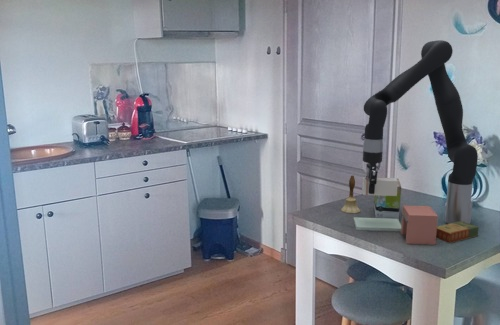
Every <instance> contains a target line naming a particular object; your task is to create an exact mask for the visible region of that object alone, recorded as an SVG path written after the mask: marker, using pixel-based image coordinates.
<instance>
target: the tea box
mask: <svg viewBox="0 0 500 325" xmlns="http://www.w3.org/2000/svg"><path fill="white" fill-rule="evenodd" d="M377 178H382V177H378V176H377ZM395 178H396V177H395ZM396 179H397V181H398V187H397V196H379V195H374V201H373V202H374V205H373V207H374V208H373V209H374V218H388V219H398V220H399V218H400V207H401V195H402V185H401V182H400V180H399V178H396Z"/></svg>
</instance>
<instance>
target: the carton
mask: <svg viewBox="0 0 500 325" xmlns="http://www.w3.org/2000/svg"><path fill="white" fill-rule="evenodd" d="M478 236H479V226H477V225H474V224H471V223H470V224H468V223H465V222H462V221H459V222H455V223H450V224H448V223H446V224H443V225H437V231H436V239H438V240H440V241H444V242H446V243H448V244H451V243H452V244H453V243H455V242H459V241H462V240H467V239H472V238H475V237H478Z"/></svg>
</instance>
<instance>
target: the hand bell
mask: <svg viewBox="0 0 500 325" xmlns="http://www.w3.org/2000/svg"><path fill="white" fill-rule="evenodd" d="M355 186H356V178H355V175H350V177H349V180H348V187H349V196H348V197H347V198H346V199H345V202H344V205H343V207H341V209H340V210H341V212H342V213H346V214H358V213H360V212H361V210H360V207H358V205H357V199H356V198H355V197H354V189H355Z"/></svg>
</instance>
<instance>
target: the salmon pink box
mask: <svg viewBox="0 0 500 325" xmlns="http://www.w3.org/2000/svg"><path fill="white" fill-rule="evenodd" d="M401 213H402V214H401V215H402V216H401V231H400V234H401V235H403V236H405V242H406V244H408V245H430V246H432V245H436V243H437V242H436V241H437V238H436V231H437V226H438V221H439V220H438V218H439V216H438V214H437V213H436V212H435V211H434V209H432V207H431V206H429V205H406V204H405V205H402V212H401Z"/></svg>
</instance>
